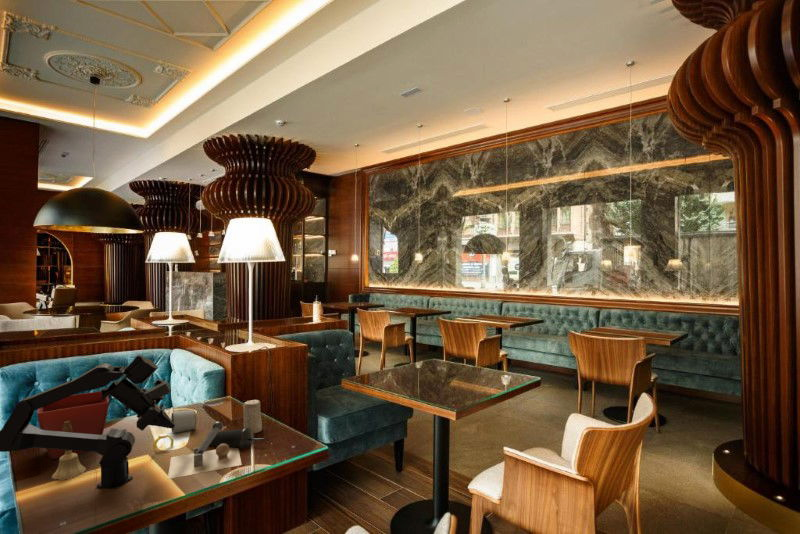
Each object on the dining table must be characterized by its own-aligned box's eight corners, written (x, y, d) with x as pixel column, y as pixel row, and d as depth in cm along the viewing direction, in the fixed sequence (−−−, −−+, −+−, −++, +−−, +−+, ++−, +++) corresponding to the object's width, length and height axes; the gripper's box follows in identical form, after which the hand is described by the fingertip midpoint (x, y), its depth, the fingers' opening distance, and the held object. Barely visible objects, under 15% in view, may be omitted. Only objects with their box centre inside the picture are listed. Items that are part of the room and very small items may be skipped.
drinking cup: (209, 456, 150) (262, 457, 146) (201, 441, 147) (255, 440, 142) (221, 438, 157) (272, 438, 152) (213, 423, 153) (265, 422, 149)
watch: (170, 449, 151) (171, 431, 151) (174, 451, 149) (175, 433, 149) (151, 453, 146) (152, 435, 147) (155, 456, 145) (156, 437, 145)
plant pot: (107, 434, 165) (106, 389, 165) (110, 450, 150) (109, 401, 150) (42, 447, 154) (41, 399, 154) (37, 466, 139) (36, 413, 139)
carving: (256, 429, 167) (255, 397, 167) (265, 434, 162) (265, 401, 162) (240, 433, 163) (239, 401, 163) (249, 439, 158) (248, 405, 158)
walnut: (216, 461, 136) (215, 447, 136) (215, 456, 140) (215, 442, 140) (229, 459, 138) (229, 445, 138) (229, 454, 142) (228, 440, 142)
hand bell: (58, 483, 128) (57, 428, 128) (46, 476, 132) (45, 423, 132) (91, 471, 135) (89, 419, 135) (78, 465, 139) (77, 415, 139)
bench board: (167, 484, 126) (167, 466, 126) (171, 462, 140) (170, 446, 140) (241, 469, 134) (241, 453, 134) (237, 450, 148) (237, 435, 148)
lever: (192, 456, 134) (216, 422, 136) (192, 451, 137) (216, 418, 140) (201, 460, 135) (225, 426, 137) (201, 455, 138) (224, 422, 141)
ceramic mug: (197, 431, 167) (197, 410, 167) (173, 436, 162) (173, 415, 162) (192, 423, 175) (192, 404, 175) (169, 428, 171) (169, 408, 171)
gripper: (149, 381, 123) (193, 414, 127) (155, 367, 140) (194, 397, 144) (116, 413, 119) (163, 446, 124) (127, 395, 136) (168, 425, 141)
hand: (173, 426), depth 133 cm, fingers closed
